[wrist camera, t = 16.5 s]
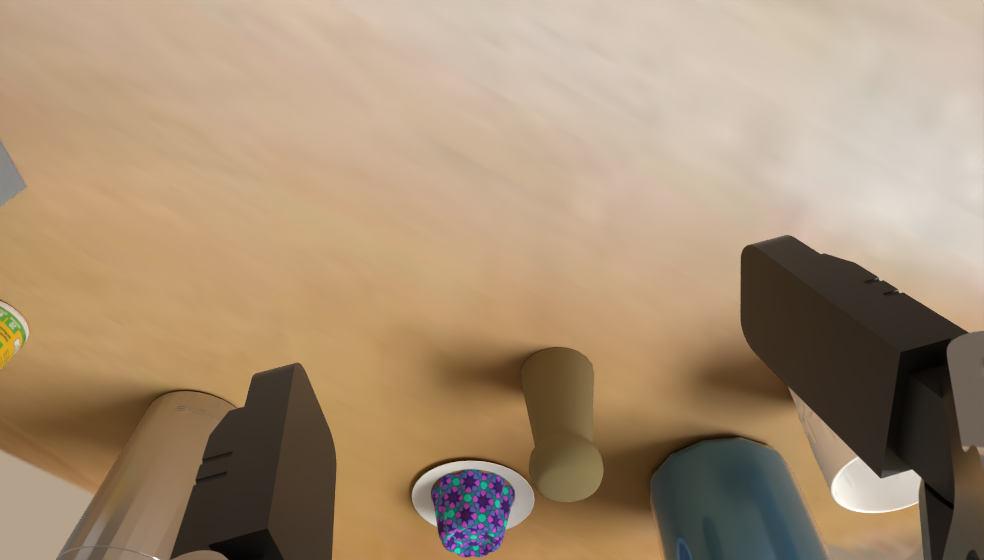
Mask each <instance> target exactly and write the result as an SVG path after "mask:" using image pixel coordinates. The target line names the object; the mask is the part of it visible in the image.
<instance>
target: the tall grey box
mask: <svg viewBox="0 0 984 560" xmlns="http://www.w3.org/2000/svg"><path fill="white" fill-rule="evenodd" d="M24 188H26V185H25V183H24V181H23V180H22V178H21V176H20V174H19V173H18V171H17V169H16V167H15V165H14V164H13V162H12V160H11V158H10V156H9V155H8V153H7V151H6V149H5V147H4V146H3V144H2V142H1V140H0V207H1V206H2V205H3V204H5V203H6V202H7V201H9V200H10V199H11V198H12V197H14V196H15V195H16V194H18V193H19V192H20V191H22V190H23V189H24Z"/></svg>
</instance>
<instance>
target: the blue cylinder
mask: <svg viewBox="0 0 984 560" xmlns="http://www.w3.org/2000/svg"><path fill="white" fill-rule="evenodd" d="M650 507H651V512H652V516H653V521H654V526H655V530H656V535H657V540H658V544H659V549H660V553H661V558H662V560H833V558H832V556H831V554H830V552H829V549H828V547H827V545H826V543H825V540H824V538H823V536H822V534H821V532H820V529H819V527H818V525H817V523H816V520H815V518H814V516H813V514H812V512H811V509H810V507H809V505H808V503H807V500H806V498H805V496H804V494H803V491H802V489H801V487H800V485H799V483H798V480H797V478H796V476H795V474H794V472H793V470H792V469H791V468H790V467H789V465H788V464H787V463H786V462H785V460H784V459H783V458H782V457H781V455H780V454H779V453H778V452H777V451H776V450H775V449H774V448H772V447H771V446H768V445H765V444H761V443H758V442H755V441H751V440H748V439H745V438H742V437H737V438H725V439H712V440H703V441H700V442H698V443H696V444H693V445H691V446H689V447H686V448H684V449H682V450H680V451H677V452H675V453H673V454H671V455H670V456H669V457H668V458H667V459H666V460H665V461H664V462H663V464H662V465H661V466H660V467H659V468H658V469H657V470H656V471H655V472H654V474H653V475H652V478H651V482H650Z"/></svg>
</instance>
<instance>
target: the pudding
mask: <svg viewBox="0 0 984 560" xmlns="http://www.w3.org/2000/svg"><path fill="white" fill-rule="evenodd" d="M463 469H470V470H464V471H462V472H461V473H459V474H448V473H450V472H454V471H458V470H463ZM472 469H479V470H486V471H489V472H493V473H495V474H493V473H490V474H484V473H482V472H480V471H479V470H472ZM446 474H448V475H446ZM496 474H498V475H496ZM444 475H445V476H444ZM499 475H500V476H499ZM442 476H443V477H442ZM501 476H502V477H503V478H505V479H506V480H507V481H508V482H509V483H510V484H511V485H512V486H513V488H514V489H513V488H512V487H511V486H508V485H506V484H505V482H504V479H503V478H502V477H501ZM441 477H442V478H441ZM439 478H441V479H440V485H438V486H436V487H434V488H433V490H432V498H433V501H432V498H431V489H432V486H433V485H434V483H435V482H436V481H437V480H438V479H439ZM514 492H515V501H514V503H513V499H514ZM534 500H535V498H534V492H533V490H532V488H531V486H530V485H529V483H528V482H527V481H526V480H525V479H524V478H523V477H522V476H521V475H519V474H518V473H516V472H514V471H513V470H511V469H509V468H506V467H504V466H501V465H498V464H494V463H489V462H483V461H458V462H452V463H447V464H444V465H441V466H438V467H436V468H434V469H432V470H430V471H428V472H427V473H425V474H424V475H422V476H421V478H420V479H419V480H418V481H417V482H416V484H415V486H414V487H413V491H412V502H413V505H414V507H415V509H416V510H417V512H418V513H419V514H420V515H421V516H422V517H423V518H424V519H425V520H426V521H428V522H429V523H431V524H433V525H435V526H436V527H437V528H438V533H439V537H440V539H441V541H442V544H443V546H444V547H445V548H446V549H447V550H448V551H450V552H455V553H457V554H458V555H459V556H462V557H470V556H475V557H483V556H486V555H487V554H488V553H489V552H494V551H496V550H497V549H498V548H499V547H500V545H501V543H502V541H503V537H504V534H505V530H507V529H509V528H512V527H514V526H516V525H517V524H519V523H521V522H522V521H523V520H524V519H525V518H526V517H527V516H528V515H529V514H530V512H531V511H532V508H533V506H534ZM512 503H513V505H512Z"/></svg>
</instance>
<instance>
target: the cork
mask: <svg viewBox="0 0 984 560" xmlns="http://www.w3.org/2000/svg"><path fill="white" fill-rule="evenodd" d="M520 378H521V382H522V387H523V392H524V396H525V401H526V406H527V410H528V415H529V420H530V424H531V429H532V434H533V438H534V443H535V448H534V449H533V451H532V454H531V457H530V463H529V473H530V476H531V479H532V482H533V485H534V487H535V488H536V489H537V490H538V491H539V492H540V494H541V495H542V496H544V497H546V498H548V499H550V500H553V501H557V502H574V501H579V500H582V499H585V498H587V497H589V496H590V495H592V494H593V493H594V492H595V491H596V490H597V489H598V487H599V485H600V484H601V481H602V477H603V471H604V468H603V463H602V458H601V454H600V452H599V450H598V449H597V447H596V446H595V445H594V443H593V386H594V372H593V367H592V364H591V362H590V361H589V360H588V358H587V357H586V356H584V355H583V354H581V353H580V352H579V351H575V350H572V349H569V348H560V347H555V348H549V349H544V350H541V351H539V352H537V353H534V354H533V355H532V356H531V357H529V358H528V359H527V360H526V361H525V363H524V364H523V366H522V368H521V374H520Z"/></svg>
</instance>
